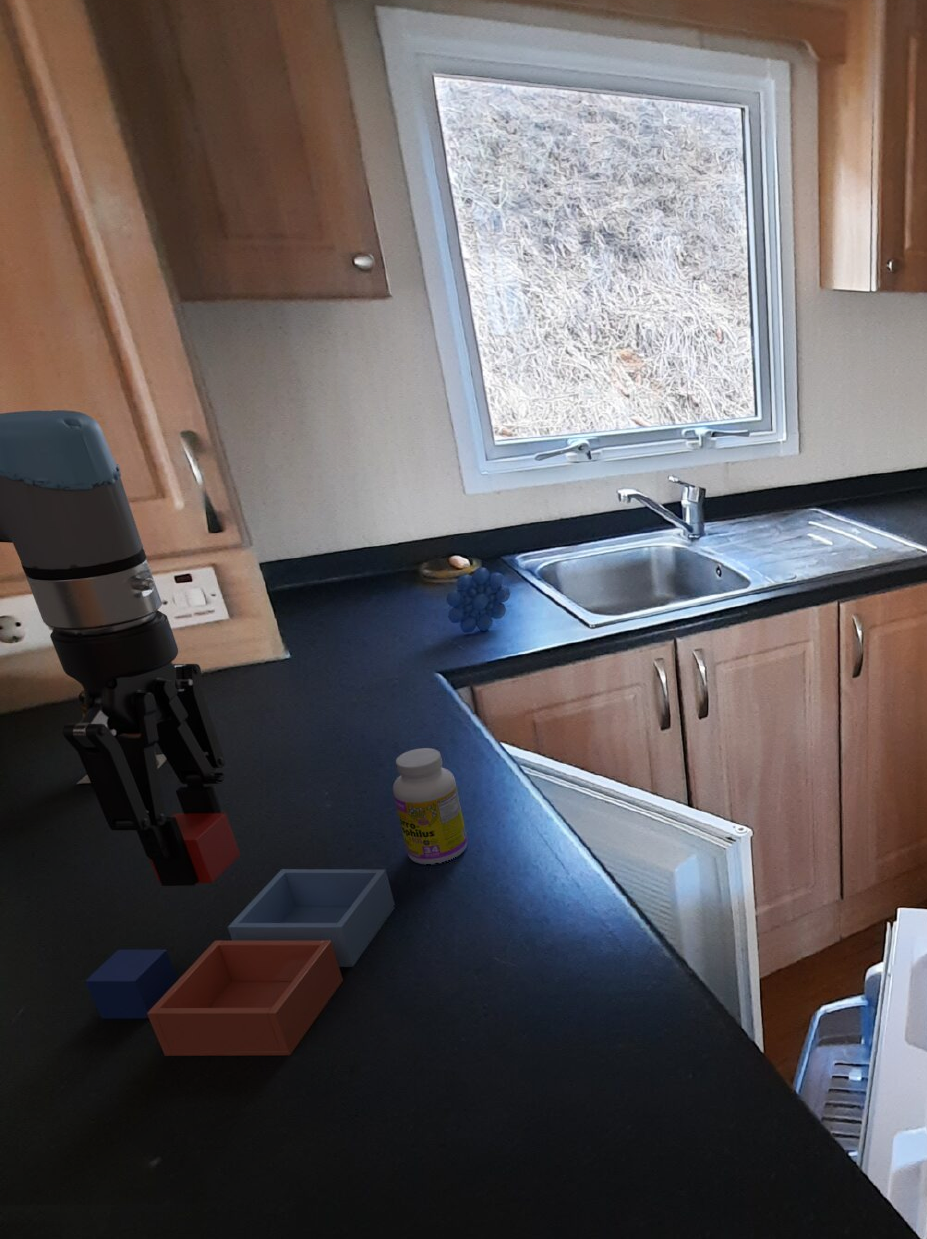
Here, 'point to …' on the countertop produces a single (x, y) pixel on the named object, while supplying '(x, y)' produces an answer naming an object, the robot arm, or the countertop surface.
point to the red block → (207, 843)
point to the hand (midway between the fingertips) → (198, 865)
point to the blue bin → (319, 909)
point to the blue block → (131, 983)
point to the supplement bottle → (428, 807)
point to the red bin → (247, 999)
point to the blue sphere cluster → (478, 600)
